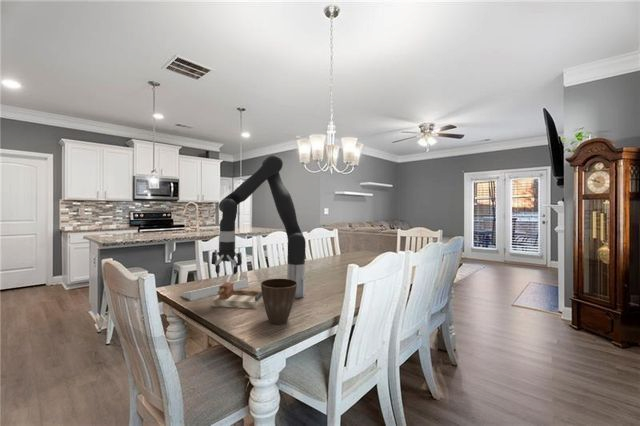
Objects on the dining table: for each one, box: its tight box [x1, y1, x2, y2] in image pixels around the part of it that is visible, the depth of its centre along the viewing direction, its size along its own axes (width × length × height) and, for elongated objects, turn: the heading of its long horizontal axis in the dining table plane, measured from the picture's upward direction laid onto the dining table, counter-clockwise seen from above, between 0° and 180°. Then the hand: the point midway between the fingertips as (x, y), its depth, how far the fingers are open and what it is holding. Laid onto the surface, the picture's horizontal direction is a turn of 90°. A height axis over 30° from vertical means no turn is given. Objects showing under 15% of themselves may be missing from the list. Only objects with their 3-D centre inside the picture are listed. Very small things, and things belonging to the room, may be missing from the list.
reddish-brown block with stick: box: [217, 281, 233, 299], centre depth 143 cm, size 4×12×6 cm, turn 175°
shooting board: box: [211, 289, 263, 309], centre depth 145 cm, size 21×11×5 cm, turn 85°
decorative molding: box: [180, 279, 250, 302], centre depth 163 cm, size 34×5×10 cm
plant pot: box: [260, 278, 297, 325], centre depth 124 cm, size 15×15×16 cm
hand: (226, 273), depth 145 cm, fingers open, 8 cm apart
